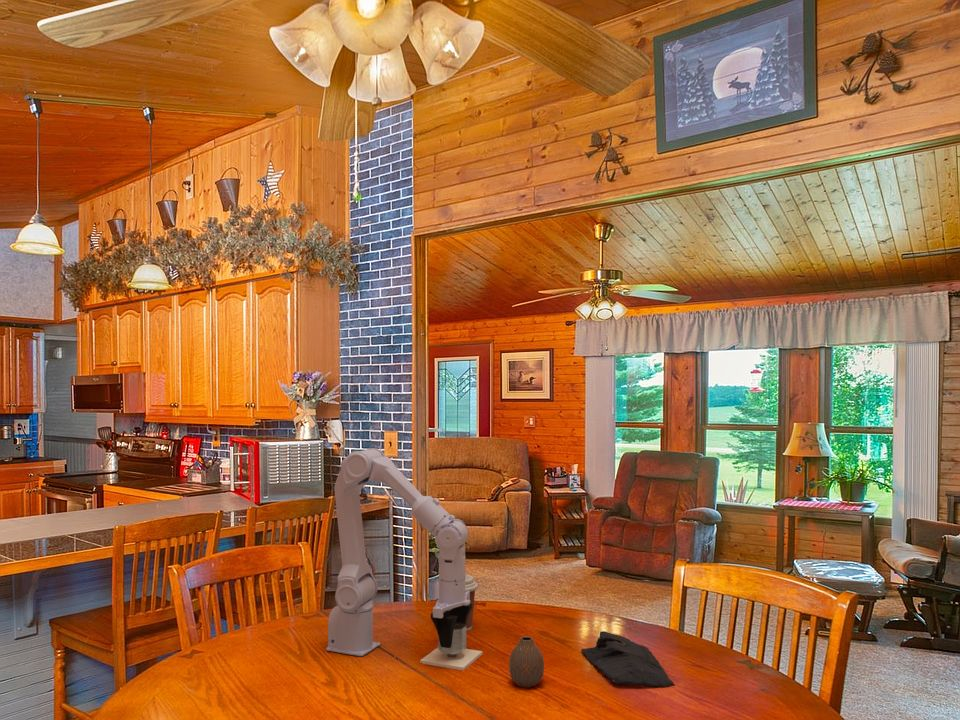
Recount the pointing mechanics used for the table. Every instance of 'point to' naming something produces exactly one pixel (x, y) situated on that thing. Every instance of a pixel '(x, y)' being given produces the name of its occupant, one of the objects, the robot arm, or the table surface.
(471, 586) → the coffee cup
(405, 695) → the table surface
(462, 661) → the post stand
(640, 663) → the crumpled black cloth
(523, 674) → the vase
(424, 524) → the robot arm
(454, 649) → the collar
